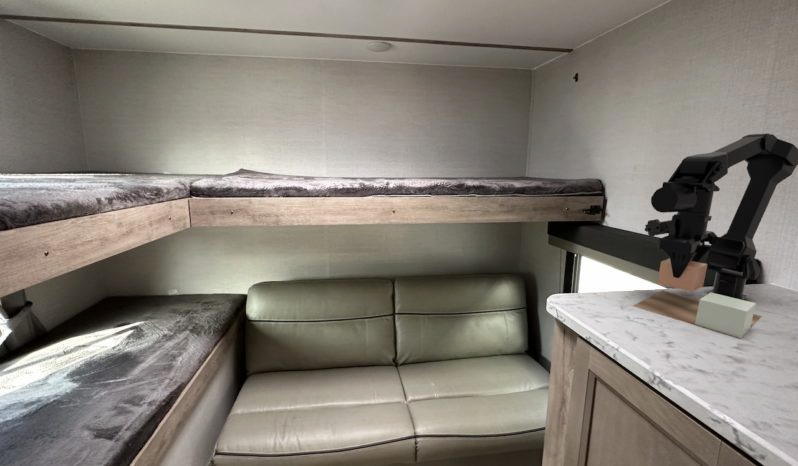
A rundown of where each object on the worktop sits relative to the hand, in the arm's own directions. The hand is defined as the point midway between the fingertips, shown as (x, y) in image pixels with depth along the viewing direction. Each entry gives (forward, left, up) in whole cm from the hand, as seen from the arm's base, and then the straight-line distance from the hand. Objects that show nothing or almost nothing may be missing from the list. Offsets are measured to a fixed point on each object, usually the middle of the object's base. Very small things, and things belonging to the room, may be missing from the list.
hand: (681, 274), depth 83 cm
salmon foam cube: (0, 0, -3) cm, 2 cm away
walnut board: (+5, +5, -7) cm, 10 cm away
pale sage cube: (+10, +10, -6) cm, 16 cm away
